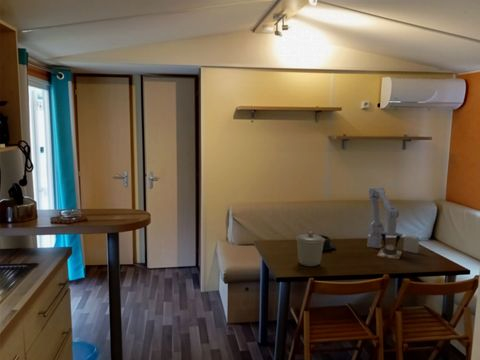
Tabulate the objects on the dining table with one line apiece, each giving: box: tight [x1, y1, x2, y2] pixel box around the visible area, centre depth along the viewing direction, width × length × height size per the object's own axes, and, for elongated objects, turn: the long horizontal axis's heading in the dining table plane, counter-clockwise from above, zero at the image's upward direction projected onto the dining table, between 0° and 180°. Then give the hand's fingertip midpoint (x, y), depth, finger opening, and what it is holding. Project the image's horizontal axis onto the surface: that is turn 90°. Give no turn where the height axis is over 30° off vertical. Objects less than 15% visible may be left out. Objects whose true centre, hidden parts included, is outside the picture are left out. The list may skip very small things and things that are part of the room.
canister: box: [295, 230, 325, 267], centre depth 261 cm, size 18×18×21 cm
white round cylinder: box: [385, 244, 395, 250], centre depth 287 cm, size 5×5×5 cm
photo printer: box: [403, 233, 420, 254], centre depth 295 cm, size 10×4×12 cm, turn 39°
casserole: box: [318, 234, 337, 252], centre depth 297 cm, size 25×19×8 cm
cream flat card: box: [376, 246, 403, 260], centre depth 287 cm, size 14×18×4 cm
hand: (390, 245), depth 287 cm, fingers open, 7 cm apart
